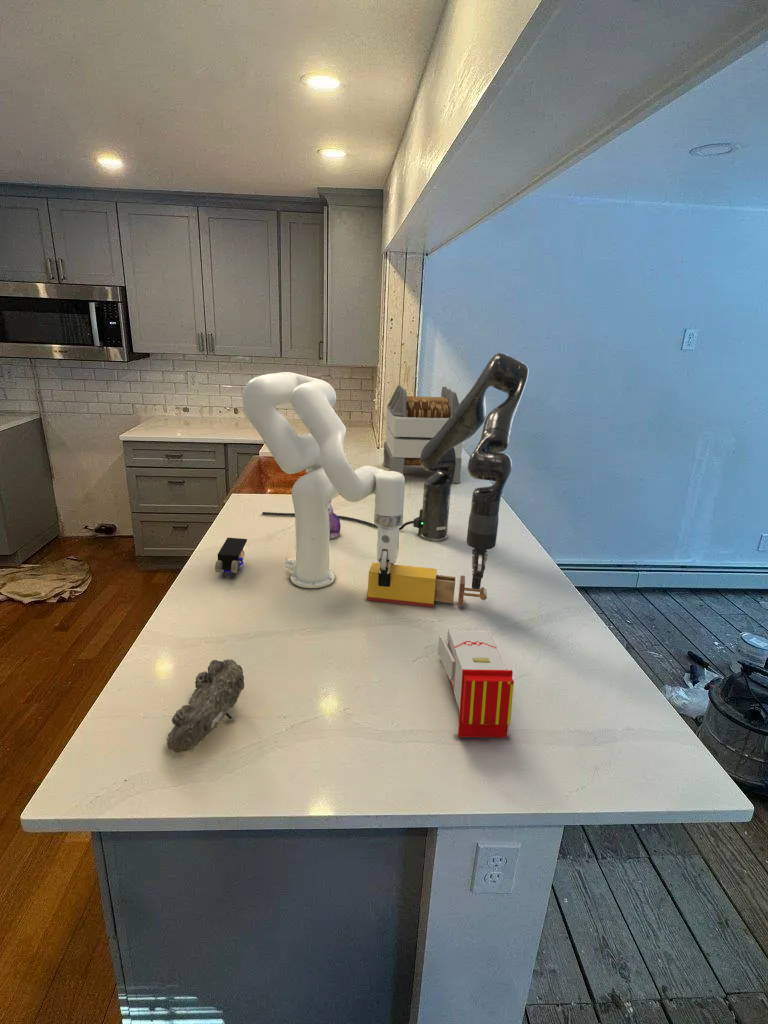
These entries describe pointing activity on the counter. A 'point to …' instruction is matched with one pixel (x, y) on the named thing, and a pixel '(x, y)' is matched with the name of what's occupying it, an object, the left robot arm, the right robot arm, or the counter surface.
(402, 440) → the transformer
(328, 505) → the figurine
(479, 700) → the toy
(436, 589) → the drawer
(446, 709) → the counter surface
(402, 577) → the cabinet
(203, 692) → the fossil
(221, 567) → the figurine character
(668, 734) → the counter surface
